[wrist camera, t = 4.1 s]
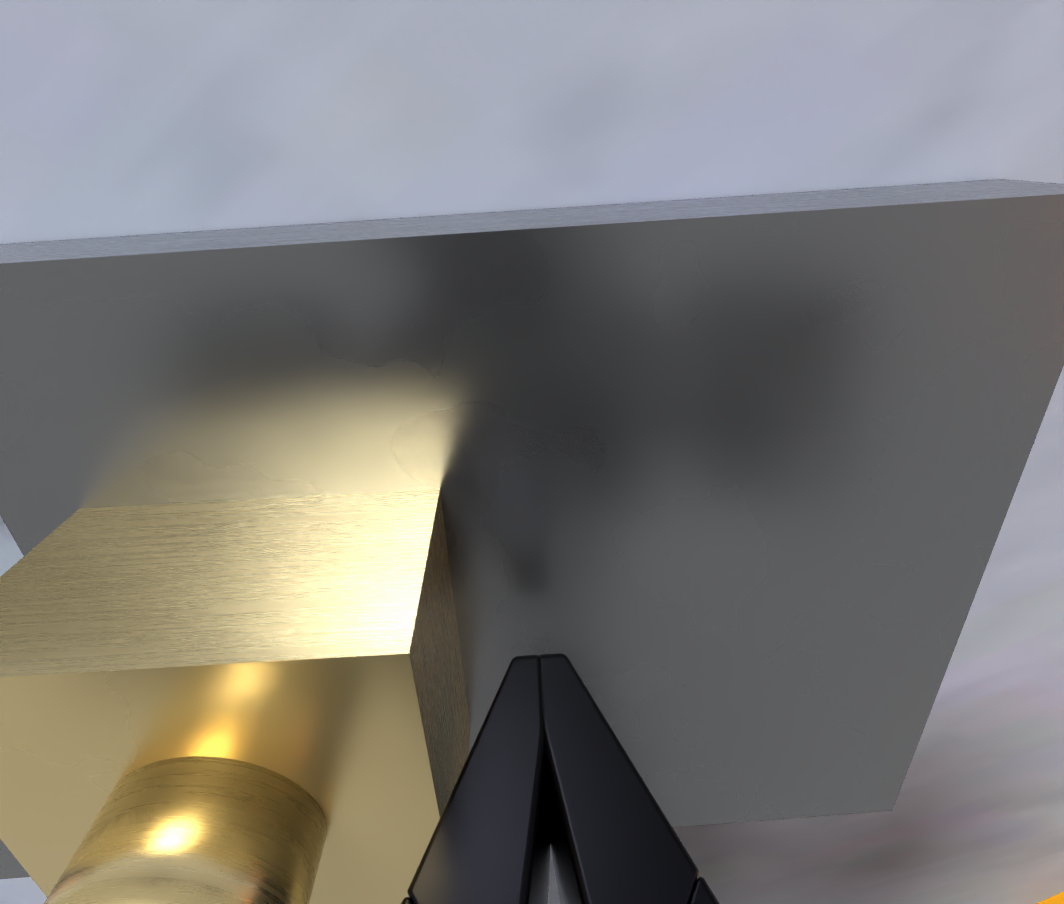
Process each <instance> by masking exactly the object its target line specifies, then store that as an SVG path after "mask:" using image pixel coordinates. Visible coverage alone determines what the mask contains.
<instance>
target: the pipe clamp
mask: <svg viewBox="0 0 1064 904" xmlns="http://www.w3.org/2000/svg"><path fill="white" fill-rule="evenodd" d="M1037 904H1064V892H1062V893H1059V894H1057V895H1055V896H1053V897H1050V898H1048V899H1046V900H1044V901H1041V902H1039V903H1037Z"/></svg>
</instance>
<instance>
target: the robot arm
mask: <svg viewBox="0 0 1064 904" xmlns="http://www.w3.org/2000/svg"><path fill="white" fill-rule="evenodd" d="M550 843H551V849H552V855H553V861H554V867H555V873H556V878H557V884H558V890H559V896H560V902H561V904H719V902H718V901H717V899H716V897H715V896H714V894H713V893H712V891H711V889H710V888H709V886H708V884H707V883H706V881H705V880H704V878H702V877H699V870H698V869H697V867H696V865H695V864H694V862H693V860H692V859H691V857H690V856H689V854H688V852H687V851H686V849H685V847H684V846H683V844H682V843H681V841H680V839H679V838H678V836H677V834H676V833H675V831H674V830H673V828H672V826H671V825H670V823H669V821H668V820H667V818H666V816H665V815H664V813H663V812H662V810H661V808H660V807H659V805H658V803H657V802H656V800H655V799H654V797H653V795H652V794H651V792H650V790H649V789H648V787H647V785H646V784H645V782H644V781H643V779H642V777H641V776H640V774H639V772H638V771H637V769H636V768H635V766H634V764H633V763H632V761H631V759H630V758H629V756H628V755H627V753H626V751H625V750H624V748H623V746H622V745H621V743H620V741H619V740H618V738H617V737H616V735H615V733H614V732H613V730H612V728H611V727H610V725H609V724H608V722H607V720H606V719H605V717H604V715H603V714H602V712H601V710H600V709H599V707H598V706H597V704H596V702H595V701H594V699H593V697H592V696H591V694H590V693H589V691H588V689H587V688H586V686H585V684H584V683H583V681H582V680H581V678H580V676H579V675H578V673H577V671H576V670H575V668H574V666H573V665H572V663H571V662H570V660H569V658H568V657H567V656H566V655H565V654H563V653H557V654H542V655H540V656H539V655H526V656H516V657H514V658H513V659H512V660H511V662H510V664H509V666H508V669H507V671H506V673H505V675H504V678H503V680H502V682H501V684H500V686H499V689H498V691H497V693H496V695H495V697H494V700H493V702H492V704H491V706H490V709H489V711H488V713H487V715H486V717H485V720H484V722H483V724H482V726H481V728H480V731H479V733H478V735H477V737H476V740H475V742H474V744H473V746H472V748H471V751H470V753H469V755H468V757H467V760H466V762H465V764H464V766H463V768H462V771H461V773H460V775H459V777H458V779H457V782H456V784H455V786H454V788H453V791H452V793H451V795H450V797H449V799H448V802H447V804H446V806H445V808H444V810H443V813H442V815H441V817H440V819H439V822H438V824H437V826H436V828H435V830H434V833H433V835H432V837H431V839H430V841H429V844H428V846H427V848H426V850H425V853H424V855H423V857H422V859H421V861H420V864H419V866H418V868H417V870H416V873H415V875H414V877H413V879H412V881H411V884H410V886H409V888H408V891H407V893H408V897H405V898H404V899H403V901H402V903H401V904H548V885H549V864H550ZM698 877H699V878H698Z"/></svg>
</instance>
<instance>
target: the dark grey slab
mask: <svg viewBox="0 0 1064 904" xmlns="http://www.w3.org/2000/svg"><path fill="white" fill-rule="evenodd" d="M1063 365H1064V184H1056V183H1044V182H1032V181H1019V180H1007V179H996V180H981V181H965V182H950V183H935V184H919V185H904V186H888V187H873V188H858V189H842V190H827V191H812V192H796V193H781V194H766V195H750V196H735V197H719V198H704V199H689V200H673V201H658V202H643V203H627V204H612V205H597V206H581V207H566V208H551V209H535V210H520V211H504V212H489V213H474V214H458V215H443V216H428V217H412V218H397V219H382V220H366V221H351V222H335V223H320V224H305V225H289V226H274V227H259V228H243V229H228V230H213V231H197V232H182V233H167V234H151V235H136V236H120V237H105V238H90V239H74V240H59V241H44V242H28V243H13V244H0V515H1V517H2V519H3V521H4V522H5V524H6V526H7V528H8V529H9V531H10V533H11V534H12V536H13V538H14V540H15V541H16V543H17V545H18V547H19V548H20V550H21V552H22V554H23V555H24V556H25V555H26V554H28V553H29V552H30V551H31V550H32V549H33V548H35V547H36V546H37V545H38V544H39V543H40V542H41V541H43V540H44V539H45V538H46V537H47V536H48V535H49V534H51V533H52V532H53V531H54V530H55V529H56V528H58V527H59V526H60V525H61V524H62V523H63V522H64V521H66V520H67V519H68V518H69V517H70V516H71V515H73V514H74V513H75V512H76V511H77V510H78V509H87V508H105V507H124V506H142V505H161V504H179V503H197V502H216V501H234V500H253V499H271V498H290V497H308V496H326V495H345V494H363V493H382V492H400V491H418V490H437V489H440V495H441V503H442V511H443V518H444V526H445V534H446V541H447V549H448V557H449V564H450V572H451V580H452V587H453V595H454V603H455V611H456V618H457V626H458V634H459V641H460V649H461V657H462V664H463V672H464V680H465V687H466V695H467V703H468V711H469V718H470V743H469V753H470V751H471V748H472V746H473V744H474V742H475V740H476V737H477V735H478V733H479V731H480V728H481V726H482V724H483V722H484V720H485V717H486V715H487V713H488V711H489V709H490V706H491V704H492V702H493V700H494V697H495V695H496V693H497V691H498V689H499V686H500V684H501V682H502V680H503V678H504V675H505V673H506V671H507V669H508V666H509V664H510V662H511V660H512V659H513V658H514V657H516V656H526V655H539V656H540V655H542V654H557V653H563V654H565V655H566V656H567V657H568V658H569V660H570V662H571V663H572V665H573V666H574V668H575V670H576V671H577V673H578V675H579V676H580V678H581V680H582V681H583V683H584V684H585V686H586V688H587V689H588V691H589V693H590V694H591V696H592V697H593V699H594V701H595V702H596V704H597V706H598V707H599V709H600V710H601V712H602V714H603V715H604V717H605V719H606V720H607V722H608V724H609V725H610V727H611V728H612V730H613V732H614V733H615V735H616V737H617V738H618V740H619V741H620V743H621V745H622V746H623V748H624V750H625V751H626V753H627V755H628V756H629V758H630V759H631V761H632V763H633V764H634V766H635V768H636V769H637V771H638V772H639V774H640V776H641V777H642V779H643V781H644V782H645V784H646V785H647V787H648V789H649V790H650V792H651V794H652V795H653V797H654V799H655V800H656V802H657V803H658V805H659V807H660V808H661V810H662V812H663V813H664V815H665V816H666V818H667V820H668V821H669V823H670V825H671V826H672V827H685V826H698V825H711V824H724V823H737V822H750V821H763V820H776V819H789V818H802V817H815V816H828V815H841V814H854V813H867V812H880V811H892V810H893V807H894V805H895V802H896V799H897V797H898V794H899V792H900V789H901V786H902V784H903V781H904V779H905V776H906V773H907V771H908V768H909V766H910V763H911V760H912V758H913V755H914V753H915V750H916V747H917V745H918V742H919V740H920V737H921V734H922V732H923V729H924V727H925V724H926V721H927V719H928V716H929V714H930V711H931V708H932V706H933V703H934V701H935V698H936V695H937V693H938V690H939V688H940V685H941V682H942V680H943V677H944V675H945V672H946V669H947V667H948V664H949V662H950V659H951V656H952V654H953V651H954V649H955V646H956V643H957V641H958V638H959V636H960V633H961V630H962V628H963V625H964V623H965V620H966V617H967V615H968V612H969V610H970V607H971V604H972V602H973V599H974V597H975V594H976V591H977V589H978V586H979V584H980V581H981V578H982V576H983V573H984V571H985V568H986V565H987V563H988V560H989V558H990V555H991V552H992V550H993V547H994V545H995V542H996V539H997V537H998V534H999V532H1000V529H1001V526H1002V524H1003V521H1004V519H1005V516H1006V513H1007V511H1008V508H1009V506H1010V503H1011V500H1012V498H1013V495H1014V493H1015V490H1016V487H1017V485H1018V482H1019V480H1020V477H1021V474H1022V472H1023V469H1024V467H1025V464H1026V461H1027V459H1028V456H1029V454H1030V451H1031V448H1032V446H1033V443H1034V441H1035V438H1036V435H1037V433H1038V430H1039V428H1040V425H1041V422H1042V420H1043V417H1044V415H1045V412H1046V410H1047V407H1048V404H1049V402H1050V399H1051V397H1052V394H1053V391H1054V389H1055V386H1056V384H1057V381H1058V378H1059V376H1060V373H1061V371H1062V368H1063ZM21 877H30V875H29V874H28V873H27V872H26V870H25V869H24V868H23V867H22V865H21V864H20V863H19V861H18V860H17V859H16V858H15V856H14V855H13V854H12V853H11V851H10V850H9V849H8V848H7V846H6V845H5V844H4V843H3V841H2V840H1V839H0V879H8V878H21Z"/></svg>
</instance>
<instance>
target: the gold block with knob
mask: <svg viewBox="0 0 1064 904" xmlns="http://www.w3.org/2000/svg"><path fill="white" fill-rule="evenodd" d="M469 743H470V718H469V711H468V703H467V695H466V687H465V680H464V672H463V664H462V657H461V649H460V641H459V634H458V626H457V618H456V611H455V603H454V595H453V587H452V580H451V572H450V564H449V557H448V549H447V541H446V534H445V526H444V518H443V511H442V503H441V495H440V489H437V490H418V491H400V492H382V493H363V494H345V495H326V496H308V497H290V498H271V499H253V500H234V501H216V502H197V503H179V504H161V505H142V506H124V507H105V508H87V509H78V510H77V511H76V512H75V513H74V514H73V515H71V516H70V517H69V518H68V519H67V520H66V521H64V522H63V523H62V524H61V525H60V526H59V527H58V528H56V529H55V530H54V531H53V532H52V533H51V534H49V535H48V536H47V537H46V538H45V539H44V540H43V541H41V542H40V543H39V544H38V545H37V546H36V547H35V548H33V549H32V550H31V551H30V552H29V553H28V554H26V555H25V556H24V557H23V558H22V559H21V560H20V561H18V562H17V563H16V564H15V565H14V566H13V567H11V568H10V569H9V570H8V571H7V572H6V573H5V574H3V575H2V576H1V577H0V839H1V840H2V841H3V843H4V844H5V845H6V846H7V848H8V849H9V850H10V851H11V853H12V854H13V855H14V856H15V858H16V859H17V860H18V861H19V863H20V864H21V865H22V867H23V868H24V869H25V870H26V872H27V873H28V874H29V875H30V877H31V878H32V879H33V880H34V882H35V883H36V884H37V885H38V887H39V888H40V889H41V890H42V892H43V893H44V894H45V895H46V897H47V899H46V901H45V903H44V904H401V903H402V901H403V899H404V898H405V897H408V893H407V891H408V888H409V886H410V884H411V881H412V879H413V877H414V875H415V873H416V870H417V868H418V866H419V864H420V861H421V859H422V857H423V855H424V853H425V850H426V848H427V846H428V844H429V841H430V839H431V837H432V835H433V833H434V830H435V828H436V826H437V824H438V822H439V819H440V817H441V815H442V813H443V810H444V808H445V806H446V804H447V802H448V799H449V797H450V795H451V793H452V791H453V788H454V786H455V784H456V782H457V779H458V777H459V775H460V773H461V771H462V768H463V766H464V764H465V762H466V760H467V757H468V755H469Z"/></svg>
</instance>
